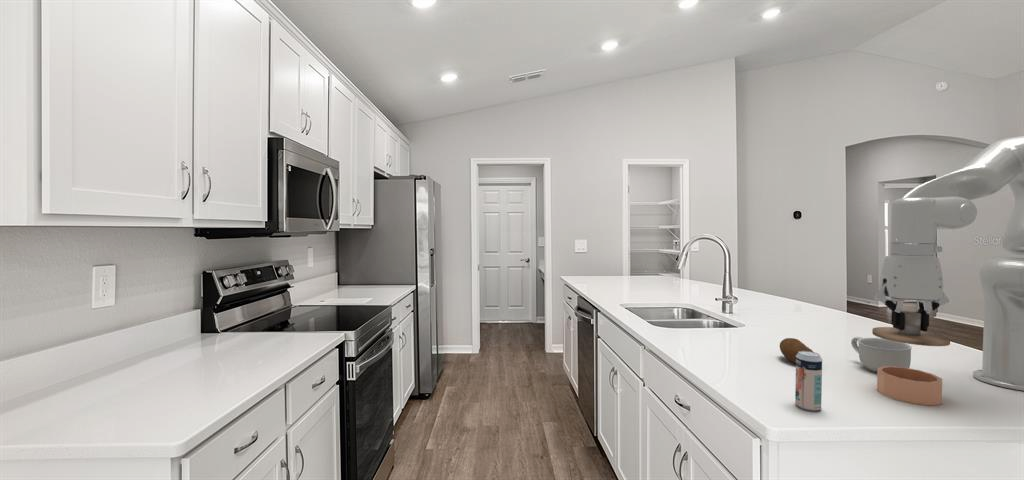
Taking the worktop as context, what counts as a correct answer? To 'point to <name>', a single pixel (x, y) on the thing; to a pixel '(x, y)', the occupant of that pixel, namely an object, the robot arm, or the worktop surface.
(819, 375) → the beer can
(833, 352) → the worktop surface
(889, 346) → the teacup
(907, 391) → the bowl
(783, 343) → the potato
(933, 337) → the lid
